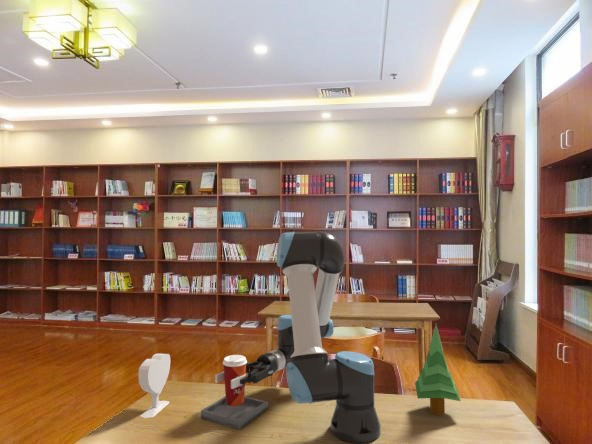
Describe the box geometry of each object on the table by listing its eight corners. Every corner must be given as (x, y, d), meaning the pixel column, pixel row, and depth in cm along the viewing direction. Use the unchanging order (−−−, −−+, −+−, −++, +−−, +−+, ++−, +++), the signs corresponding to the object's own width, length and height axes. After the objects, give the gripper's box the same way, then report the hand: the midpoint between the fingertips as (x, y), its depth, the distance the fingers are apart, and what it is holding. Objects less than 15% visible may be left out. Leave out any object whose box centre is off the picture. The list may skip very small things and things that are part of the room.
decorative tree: (419, 420, 130) (418, 327, 131) (414, 400, 146) (412, 316, 146) (463, 424, 128) (462, 329, 128) (453, 402, 143) (452, 318, 144)
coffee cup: (242, 408, 132) (242, 363, 132) (219, 406, 134) (218, 361, 134) (250, 397, 140) (250, 354, 140) (228, 396, 142) (227, 353, 142)
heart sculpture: (159, 399, 149) (159, 350, 149) (172, 399, 148) (172, 350, 148) (136, 418, 134) (136, 364, 134) (150, 419, 133) (150, 364, 133)
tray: (267, 408, 140) (267, 401, 140) (240, 429, 126) (240, 421, 126) (231, 399, 148) (230, 392, 148) (200, 418, 133) (200, 410, 134)
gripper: (291, 379, 145) (244, 401, 127) (251, 366, 157) (204, 385, 139) (291, 358, 145) (244, 377, 127) (251, 347, 157) (204, 364, 139)
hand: (223, 381), depth 133 cm, fingers closed on coffee cup, 7 cm apart
